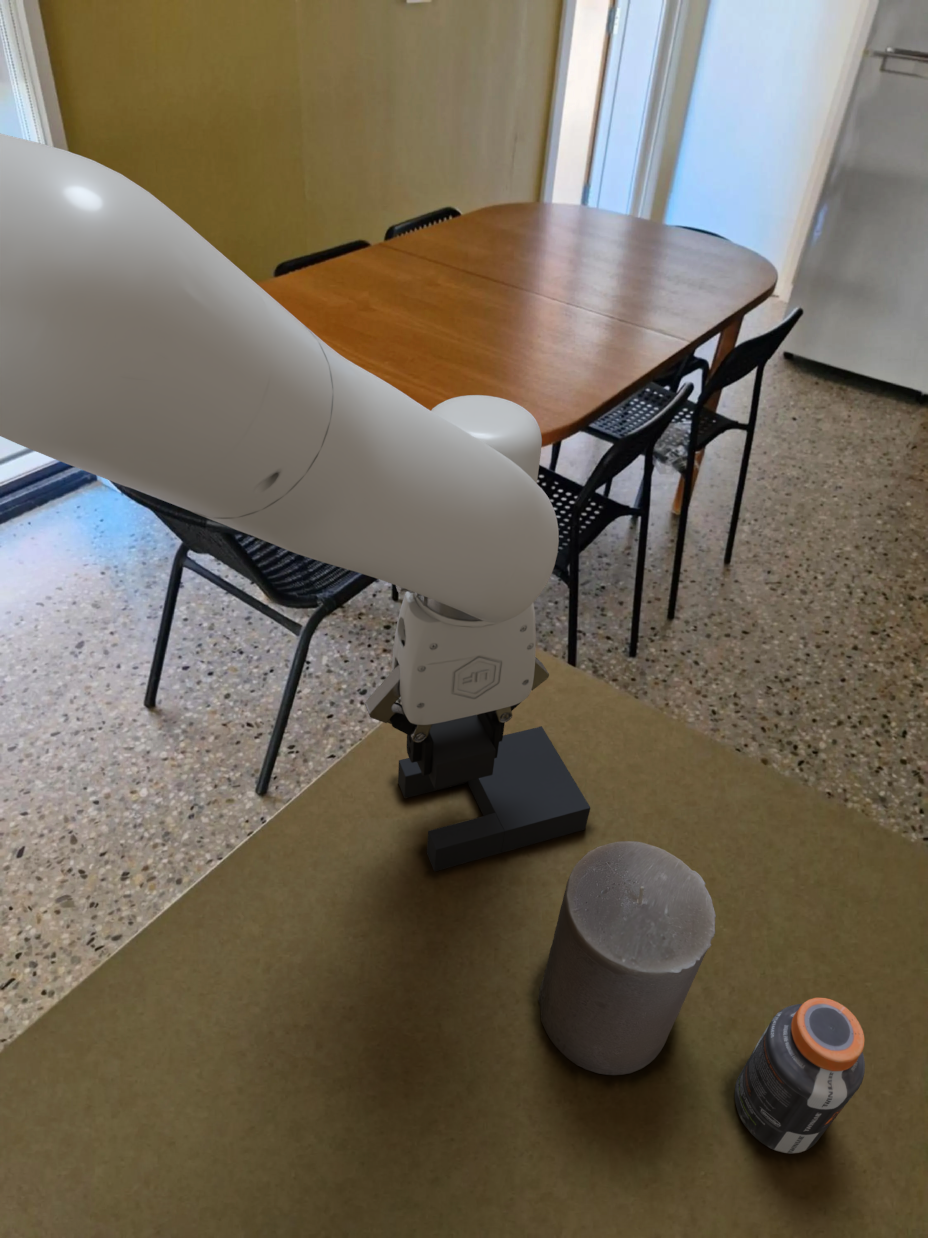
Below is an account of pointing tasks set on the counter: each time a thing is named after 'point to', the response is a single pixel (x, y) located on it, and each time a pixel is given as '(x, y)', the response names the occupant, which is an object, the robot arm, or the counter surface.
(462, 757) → the small pad
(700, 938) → the pillar candle
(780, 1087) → the pill bottle
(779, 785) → the counter surface
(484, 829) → the large pad
